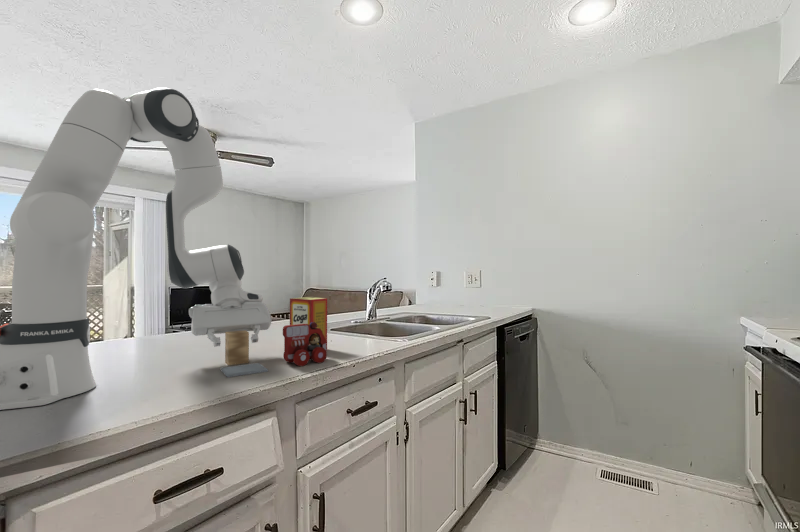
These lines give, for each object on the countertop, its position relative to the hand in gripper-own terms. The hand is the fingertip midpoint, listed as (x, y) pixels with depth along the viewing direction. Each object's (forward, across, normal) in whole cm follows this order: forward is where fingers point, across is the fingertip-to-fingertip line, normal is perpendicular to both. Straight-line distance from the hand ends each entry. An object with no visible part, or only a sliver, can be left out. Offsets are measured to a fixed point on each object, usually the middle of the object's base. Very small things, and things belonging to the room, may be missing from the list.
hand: (236, 343), depth 102 cm
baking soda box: (0, +22, +8) cm, 23 cm away
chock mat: (+11, 0, -4) cm, 12 cm away
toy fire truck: (+11, +15, -4) cm, 19 cm away
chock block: (+4, 0, +3) cm, 5 cm away
